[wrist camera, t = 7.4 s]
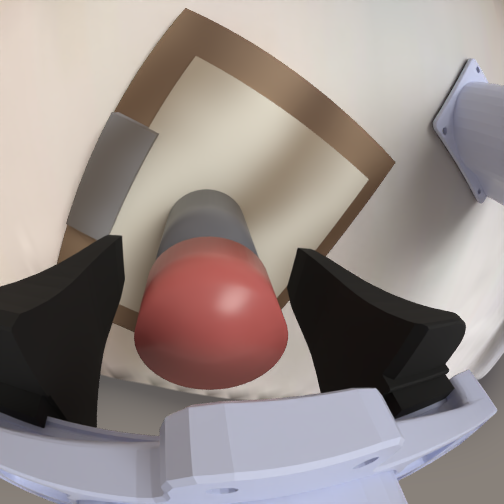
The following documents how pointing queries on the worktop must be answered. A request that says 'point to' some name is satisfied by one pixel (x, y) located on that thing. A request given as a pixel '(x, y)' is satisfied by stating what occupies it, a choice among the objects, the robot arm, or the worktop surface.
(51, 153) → the worktop surface
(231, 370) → the marker
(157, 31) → the worktop surface
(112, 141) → the clipboard
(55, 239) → the worktop surface
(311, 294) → the robot arm
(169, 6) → the worktop surface
